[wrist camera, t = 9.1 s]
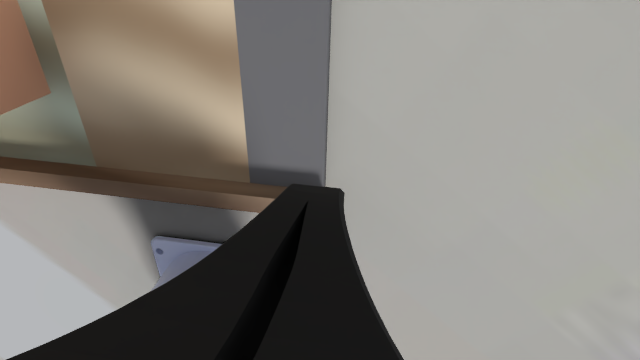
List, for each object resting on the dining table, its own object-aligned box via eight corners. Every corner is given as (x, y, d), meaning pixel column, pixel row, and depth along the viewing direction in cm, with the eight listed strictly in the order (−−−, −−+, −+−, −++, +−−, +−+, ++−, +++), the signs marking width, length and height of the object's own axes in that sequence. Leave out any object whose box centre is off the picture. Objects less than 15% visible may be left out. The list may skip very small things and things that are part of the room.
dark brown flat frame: (324, 199, 21) (319, 219, 19) (-93, 154, 24) (-126, 168, 23) (340, -244, 12) (332, -271, 10) (-327, -220, 15) (-406, -238, 14)
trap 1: (325, 184, 20) (323, 190, 20) (253, 177, 21) (249, 182, 20) (338, -200, 12) (336, -206, 12) (222, -198, 13) (215, -203, 12)
